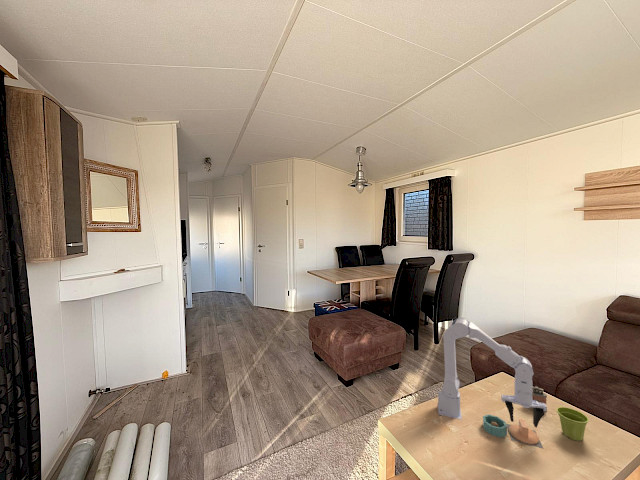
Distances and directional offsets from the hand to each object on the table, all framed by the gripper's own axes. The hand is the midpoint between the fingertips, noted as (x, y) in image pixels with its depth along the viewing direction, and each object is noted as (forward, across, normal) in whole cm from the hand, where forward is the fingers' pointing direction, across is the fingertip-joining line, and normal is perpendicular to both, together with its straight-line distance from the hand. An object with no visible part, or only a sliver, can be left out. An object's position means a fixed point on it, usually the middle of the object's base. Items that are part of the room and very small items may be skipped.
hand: (523, 422), depth 106 cm
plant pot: (+6, +18, +9) cm, 21 cm away
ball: (+5, -10, -1) cm, 11 cm away
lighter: (+6, +10, +24) cm, 27 cm away
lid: (+5, 0, 0) cm, 5 cm away
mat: (+6, 0, 0) cm, 6 cm away
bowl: (+6, -10, -1) cm, 11 cm away
